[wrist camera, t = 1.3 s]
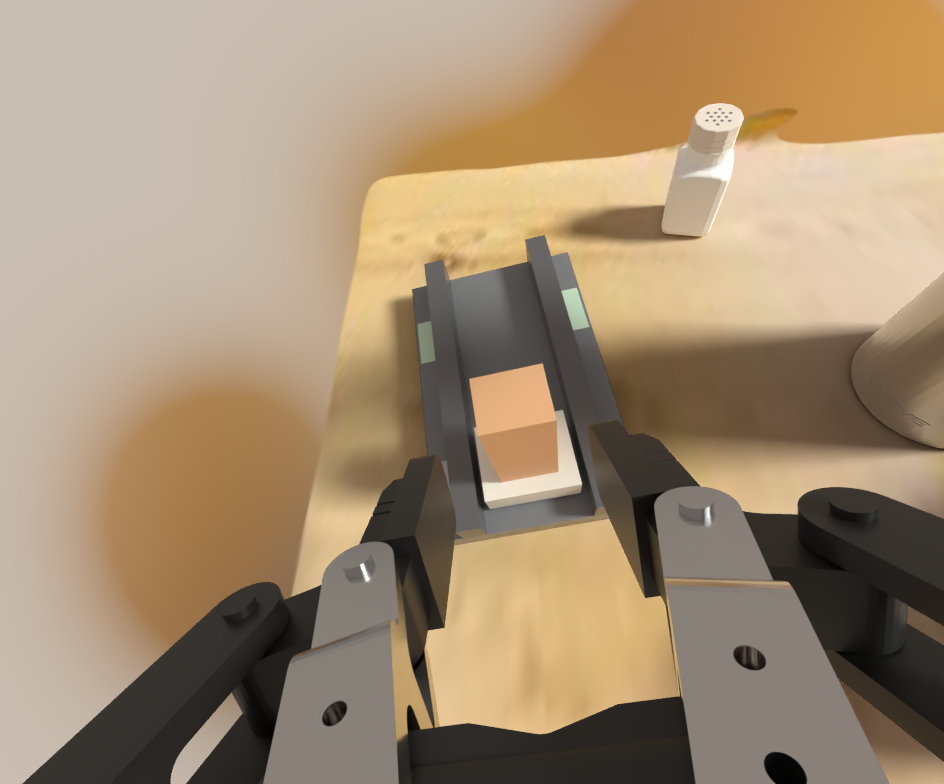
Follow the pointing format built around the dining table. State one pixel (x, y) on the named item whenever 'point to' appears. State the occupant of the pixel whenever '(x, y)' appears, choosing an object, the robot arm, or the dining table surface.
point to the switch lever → (521, 439)
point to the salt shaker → (702, 171)
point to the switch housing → (502, 349)
